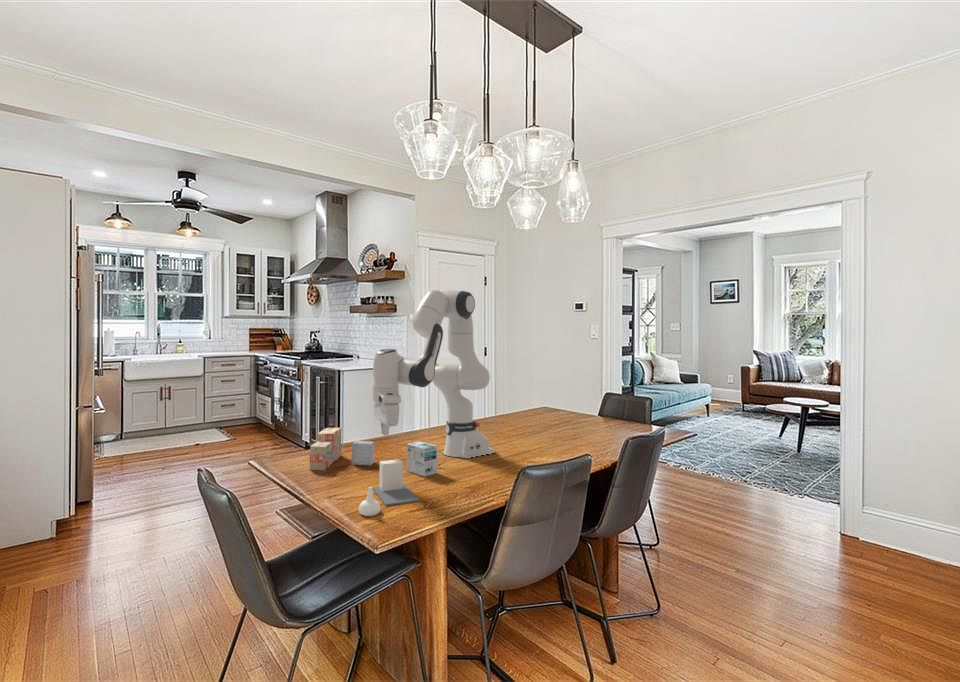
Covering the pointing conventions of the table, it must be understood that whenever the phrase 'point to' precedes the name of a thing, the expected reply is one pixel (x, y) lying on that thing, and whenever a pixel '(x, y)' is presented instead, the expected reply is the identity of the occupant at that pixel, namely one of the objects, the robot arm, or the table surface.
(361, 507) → the garlic bulb
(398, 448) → the table surface
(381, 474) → the cream block
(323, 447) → the stack of blocks
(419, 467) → the light bulb box
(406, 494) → the rubber mat
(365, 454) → the medicine box
